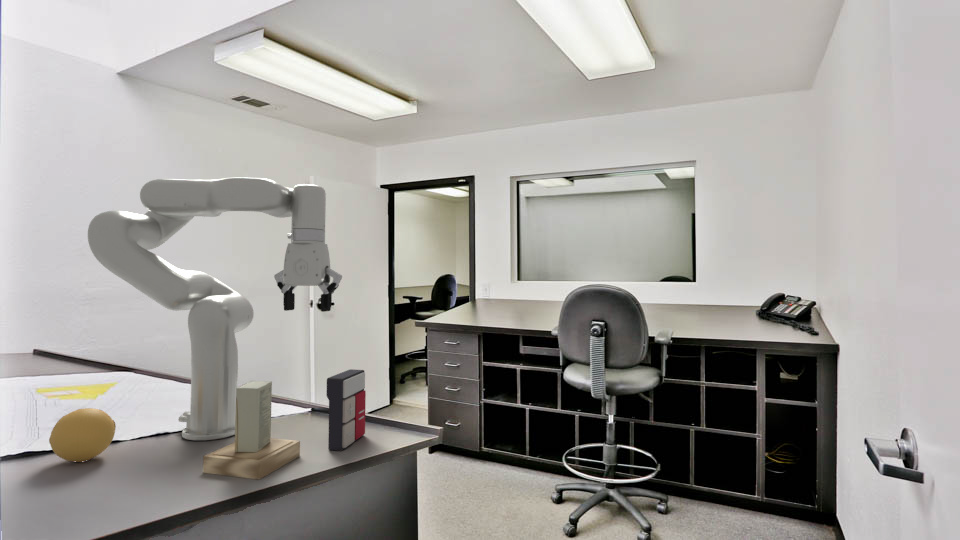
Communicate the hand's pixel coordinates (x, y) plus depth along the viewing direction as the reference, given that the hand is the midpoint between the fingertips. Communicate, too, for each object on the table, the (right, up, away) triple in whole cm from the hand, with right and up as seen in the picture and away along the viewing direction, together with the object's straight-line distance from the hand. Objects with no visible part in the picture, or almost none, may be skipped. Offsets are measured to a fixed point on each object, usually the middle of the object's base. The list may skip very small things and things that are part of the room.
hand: (307, 310), depth 114 cm
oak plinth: (-3, -28, -20) cm, 35 cm away
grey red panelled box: (+11, -29, -8) cm, 32 cm away
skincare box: (-3, -25, -20) cm, 32 cm away
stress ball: (-37, -28, -19) cm, 50 cm away
